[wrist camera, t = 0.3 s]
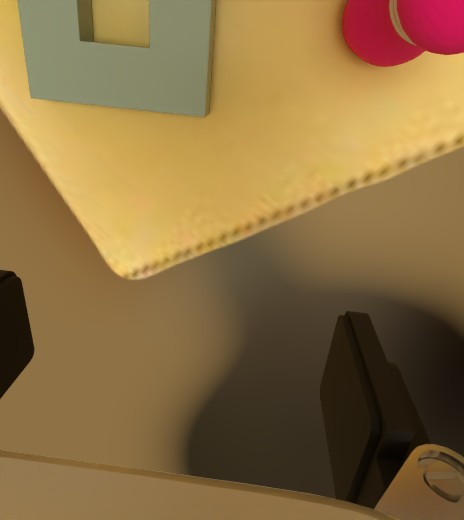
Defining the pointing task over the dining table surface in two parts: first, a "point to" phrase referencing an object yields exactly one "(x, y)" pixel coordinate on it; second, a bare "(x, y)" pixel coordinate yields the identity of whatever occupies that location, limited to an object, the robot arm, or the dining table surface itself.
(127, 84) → the socket board
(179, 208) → the dining table surface
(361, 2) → the pepper mill
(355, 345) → the robot arm
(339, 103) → the dining table surface
